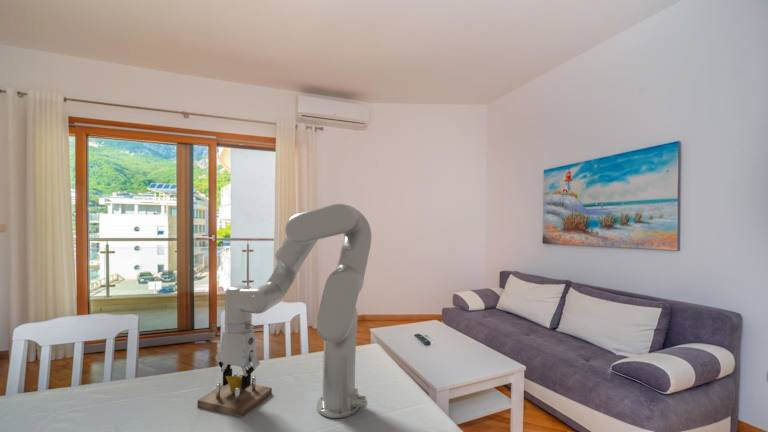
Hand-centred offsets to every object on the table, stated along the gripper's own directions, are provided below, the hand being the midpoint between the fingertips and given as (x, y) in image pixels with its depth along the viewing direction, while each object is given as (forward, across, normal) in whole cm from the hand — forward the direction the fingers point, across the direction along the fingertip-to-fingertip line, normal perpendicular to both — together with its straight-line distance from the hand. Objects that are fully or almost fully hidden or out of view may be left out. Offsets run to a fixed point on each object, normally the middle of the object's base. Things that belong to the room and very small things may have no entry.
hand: (236, 385), depth 98 cm
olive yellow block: (+3, 0, 0) cm, 3 cm away
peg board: (+4, 0, 0) cm, 4 cm away
